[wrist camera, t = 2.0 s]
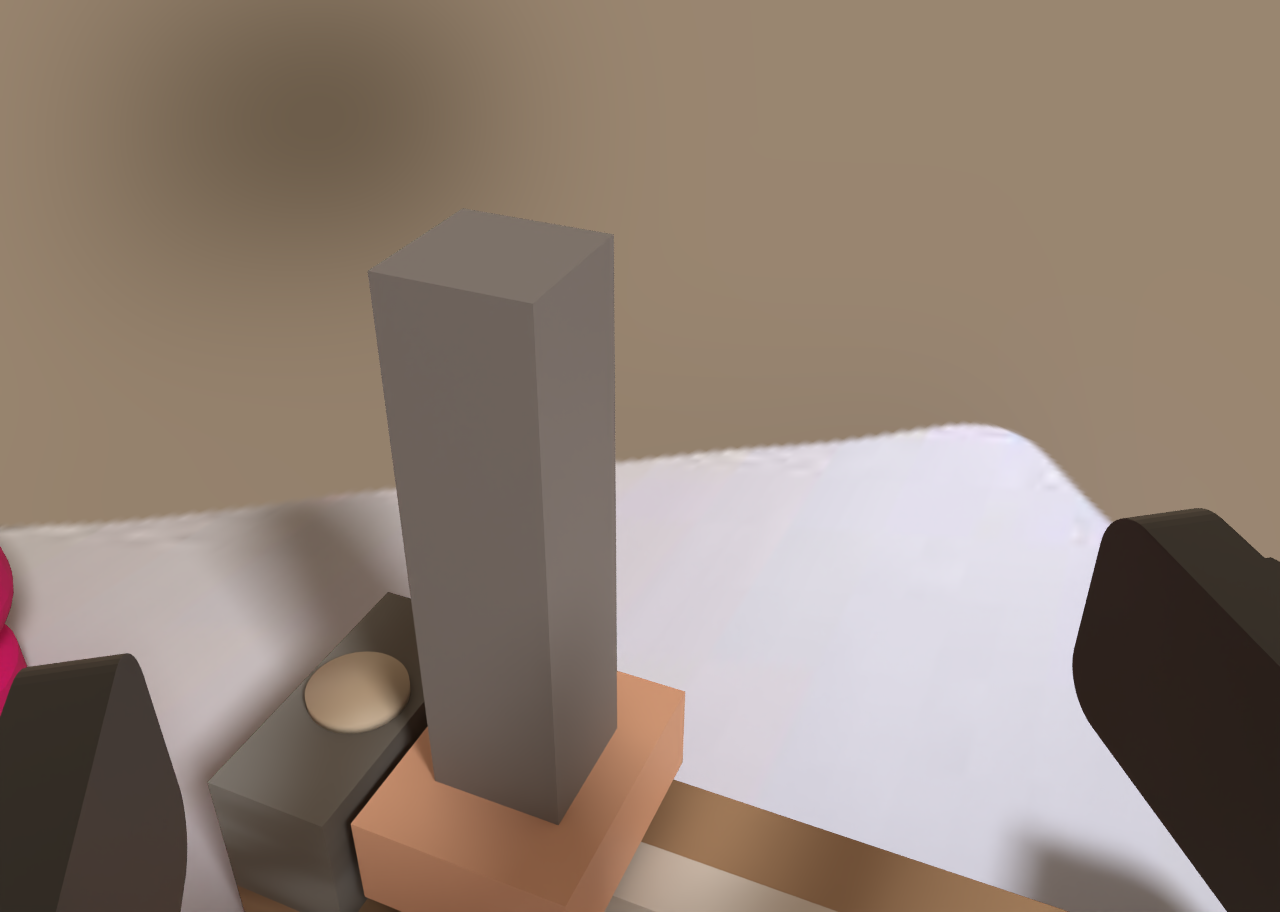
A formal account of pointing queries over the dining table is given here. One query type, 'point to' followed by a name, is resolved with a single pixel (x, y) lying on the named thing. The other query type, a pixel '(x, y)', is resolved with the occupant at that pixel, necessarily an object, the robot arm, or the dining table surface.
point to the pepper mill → (7, 634)
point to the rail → (655, 878)
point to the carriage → (510, 579)
